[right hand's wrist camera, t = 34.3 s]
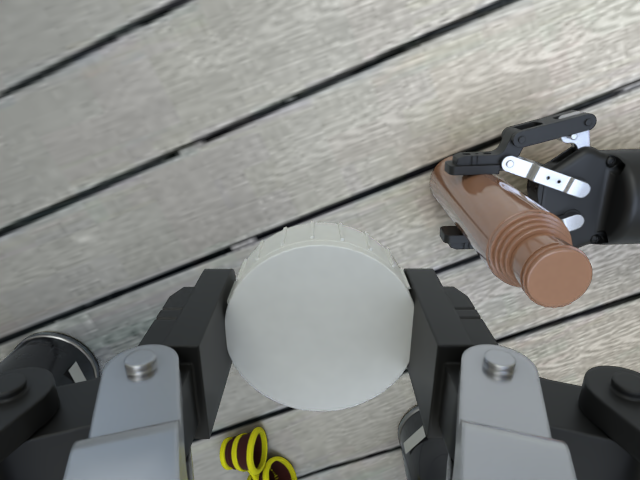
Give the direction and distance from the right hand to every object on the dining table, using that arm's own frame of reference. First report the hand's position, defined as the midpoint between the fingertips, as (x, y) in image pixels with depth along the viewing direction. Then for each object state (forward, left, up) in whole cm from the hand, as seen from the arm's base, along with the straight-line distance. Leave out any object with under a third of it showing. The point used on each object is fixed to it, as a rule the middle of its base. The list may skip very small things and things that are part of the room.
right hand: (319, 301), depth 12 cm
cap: (0, 0, +1) cm, 1 cm away
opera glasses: (-39, -1, -31) cm, 50 cm away
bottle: (-2, -13, -31) cm, 34 cm away
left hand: (-3, -11, -25) cm, 27 cm away
